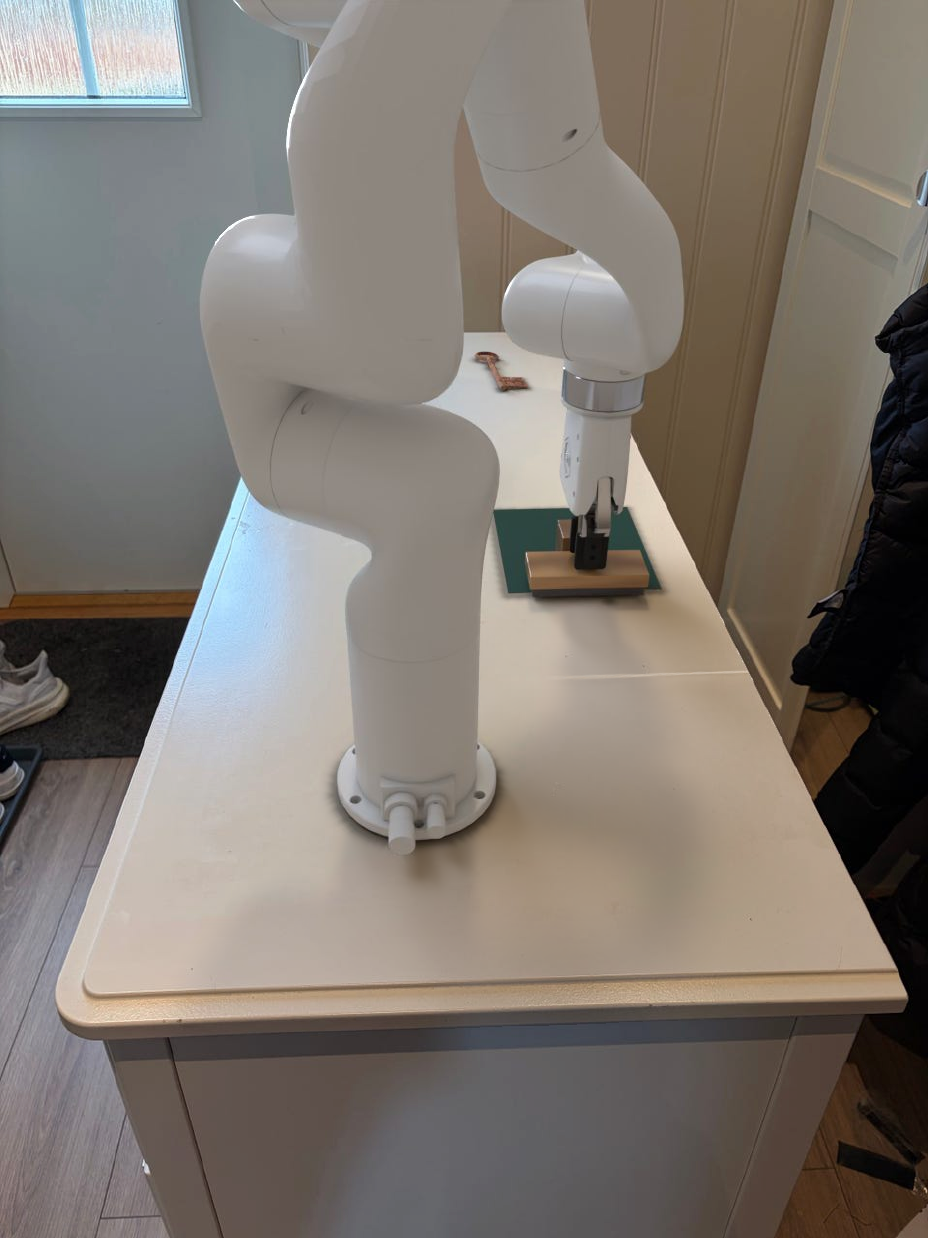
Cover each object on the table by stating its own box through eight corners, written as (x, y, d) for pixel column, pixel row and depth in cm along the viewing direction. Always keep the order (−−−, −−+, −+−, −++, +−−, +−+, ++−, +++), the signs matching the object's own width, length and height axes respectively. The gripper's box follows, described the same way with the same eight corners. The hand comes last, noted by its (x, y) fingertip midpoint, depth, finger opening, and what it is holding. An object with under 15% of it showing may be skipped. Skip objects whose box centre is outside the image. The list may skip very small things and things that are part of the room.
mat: (661, 591, 102) (661, 588, 102) (508, 595, 102) (508, 592, 101) (626, 508, 117) (627, 506, 117) (492, 511, 116) (492, 509, 116)
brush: (646, 595, 100) (656, 522, 96) (529, 598, 100) (533, 524, 95) (637, 569, 104) (646, 498, 100) (524, 571, 104) (528, 500, 99)
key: (527, 391, 148) (507, 356, 160) (528, 385, 148) (508, 350, 160) (489, 390, 147) (472, 354, 159) (490, 384, 146) (473, 349, 159)
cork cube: (597, 569, 105) (601, 537, 103) (560, 570, 105) (563, 538, 103) (591, 550, 109) (594, 518, 106) (555, 551, 108) (557, 519, 106)
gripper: (550, 356, 96) (540, 522, 107) (575, 423, 83) (561, 604, 94) (626, 355, 97) (609, 520, 107) (663, 421, 84) (639, 602, 94)
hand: (587, 558), depth 100 cm, fingers closed on brush, 2 cm apart
